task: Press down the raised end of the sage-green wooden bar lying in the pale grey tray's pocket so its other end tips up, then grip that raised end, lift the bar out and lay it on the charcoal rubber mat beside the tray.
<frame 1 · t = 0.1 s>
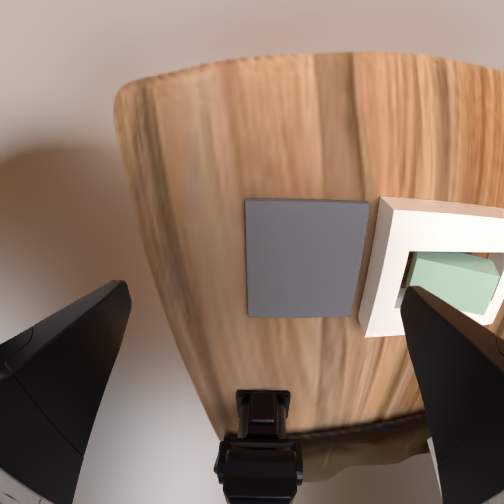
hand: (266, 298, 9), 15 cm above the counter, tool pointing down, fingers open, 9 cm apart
sage block: (449, 270, 23), point 2 cm above the counter, tilted 23°, touching parts tray
rubber mat: (304, 262, 25), on the counter
parts tray: (443, 262, 25), on the counter
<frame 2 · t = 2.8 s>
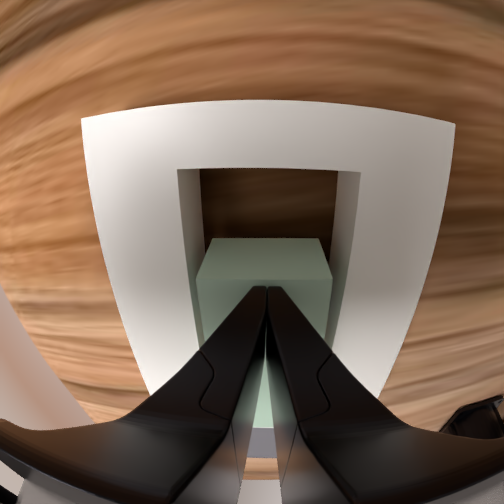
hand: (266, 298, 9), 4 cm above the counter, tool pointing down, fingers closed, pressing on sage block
sage block: (265, 322, 13), point 2 cm above the counter, touching gripper, parts tray
rubber mat: (262, 429, 20), on the counter
parts tray: (267, 284, 14), on the counter
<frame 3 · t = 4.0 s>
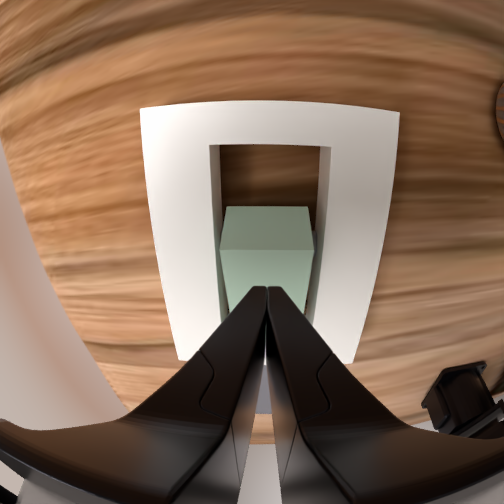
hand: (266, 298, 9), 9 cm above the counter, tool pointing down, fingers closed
sage block: (267, 261, 18), point 1 cm above the counter, tilted 18°, touching parts tray
rubber mat: (264, 381, 25), on the counter
parts tray: (268, 237, 18), on the counter
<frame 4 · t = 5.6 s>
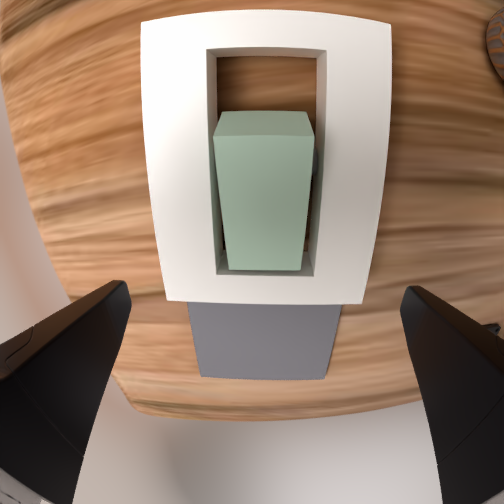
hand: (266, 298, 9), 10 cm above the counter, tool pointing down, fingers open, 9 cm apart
sage block: (265, 179, 16), point 1 cm above the counter, tilted 18°, touching parts tray
rubber mat: (263, 337, 23), on the counter
vase: (503, 53, 12), on the counter
parts tray: (266, 157, 17), on the counter
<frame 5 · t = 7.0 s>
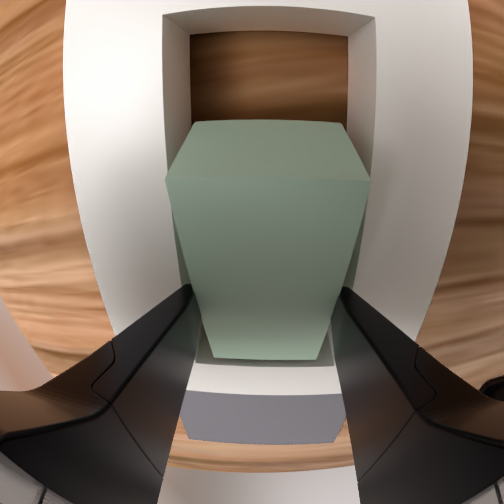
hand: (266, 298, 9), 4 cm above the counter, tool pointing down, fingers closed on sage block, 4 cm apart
sage block: (267, 229, 11), point 1 cm above the counter, tilted 18°, touching gripper, parts tray
rubber mat: (262, 407, 18), on the counter
parts tray: (268, 191, 11), on the counter
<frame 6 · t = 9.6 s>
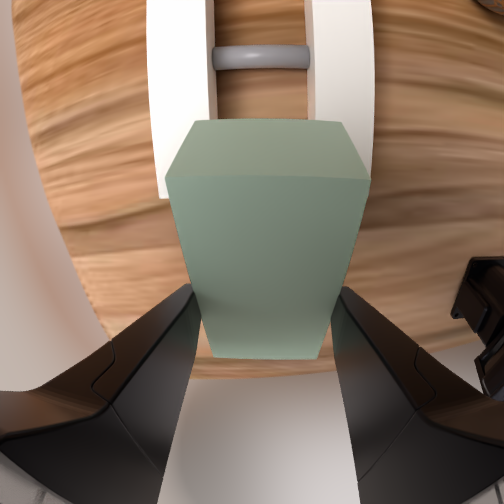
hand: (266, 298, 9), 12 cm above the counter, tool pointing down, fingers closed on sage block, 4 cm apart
sage block: (267, 228, 10), point 9 cm above the counter, tilted 18°, touching gripper
parts tray: (261, 58, 15), on the counter
when the fingers open (5 cm above the counter, at t = 12.1 s): sage block drops 2 cm, resting on rubber mat.
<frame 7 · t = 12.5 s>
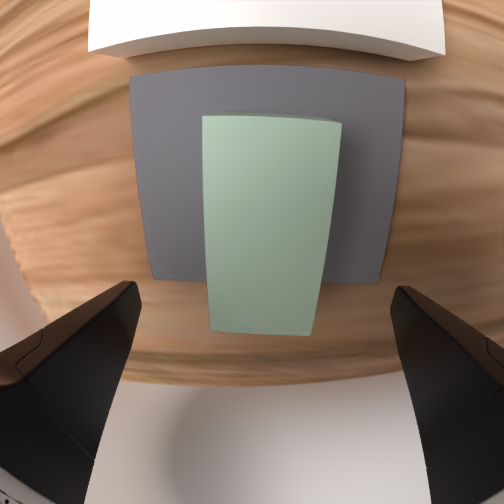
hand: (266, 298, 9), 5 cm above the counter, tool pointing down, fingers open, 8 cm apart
sage block: (266, 210, 13), point 1 cm above the counter, touching rubber mat
rubber mat: (267, 179, 12), on the counter
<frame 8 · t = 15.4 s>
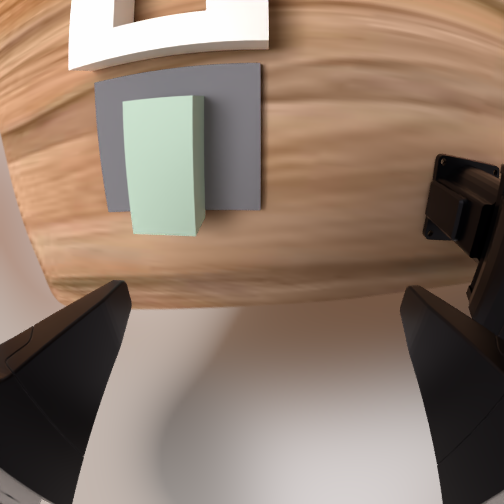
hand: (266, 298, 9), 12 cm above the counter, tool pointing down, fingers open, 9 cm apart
sage block: (173, 158, 18), point 1 cm above the counter, touching rubber mat
rubber mat: (175, 139, 18), on the counter
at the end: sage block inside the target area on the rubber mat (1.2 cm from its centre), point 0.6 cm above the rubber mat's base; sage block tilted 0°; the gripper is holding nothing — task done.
